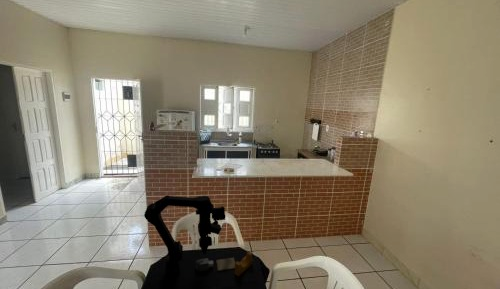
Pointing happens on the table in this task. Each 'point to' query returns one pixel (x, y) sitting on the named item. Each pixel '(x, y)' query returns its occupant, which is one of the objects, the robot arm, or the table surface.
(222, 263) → the trivet
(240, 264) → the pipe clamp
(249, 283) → the table surface
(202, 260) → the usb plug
